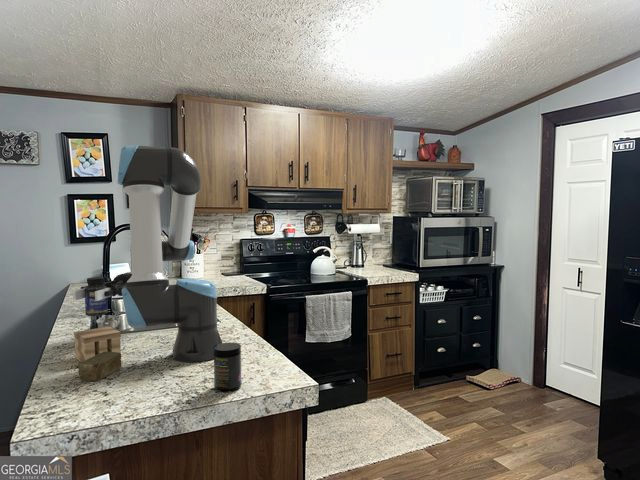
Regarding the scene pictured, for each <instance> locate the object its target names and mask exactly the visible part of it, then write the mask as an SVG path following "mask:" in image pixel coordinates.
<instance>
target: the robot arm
mask: <svg viewBox="0 0 640 480" xmlns="http://www.w3.org/2000/svg"><path fill="white" fill-rule="evenodd" d="M117 173H118V174H117V184H118V185H120V186H122V191H123V192H124V193H125V194H126V195H127V196H128V204H129V205H128V209H129V230H130V232H129V233H130V250H129V251H130V264H131V265H130V268H131V269H130V271H128V272H125V273H121V274H117V275H116V276H115V277H114V278H113V280H110V281H105V282H104V285H106V286H107V288H105V289H102V290H98V291H95V301H98V300H101V299H105V298H111V297H116V296H119V297H122V301H123V308H124V313H125V317H126V322H127V325H128V326H129V327H130V328H147V327H157V326H167V325H174V324H177V334H176V338H175V341H174V344H173V347H172V358H173V359H174V360H175V361H178V362H184V363H197V362H199V363H200V362H206V361H210V360H214V355H213V347H214V346H215V345H217V344H221V343H223V341H222V338H221V336H220V332H219V329H218V310H217V309H218V305H217V304H218V303H217V301H218V300H217V299H218V295H217V287H216V284H215V283H214V282H213V281H210V280H205V279H196V278H178V279H176V282H175V283H176V284H170V280H169V278H168V277H167V276H166V275H165V273H164V265H163V263H164V262H178V261H179V262H184V261H190V260H193V259H194V258H195V253H196V252H195V251H196V250H195V242H194V241H193V240H191V235H192V229H193V228H192V227H193V221H194V212H195V207H196V200H197V195H198V194H199V192H200V191H201V187H202V186H201V185H202V176H201V171H200V168H199V167H198V165H197V163H196V161H195V160H194V159H193V158H192V157H191V156H190V155H189V154H188V153H187V152H185V151H184V150H182V149H180V148H177V147H165V146H164V147H163V146H152V145H150V146H149V145H139V144H136V145H124V146H122V148H121V149H120V153H119V163H118V171H117ZM165 186H169V187H170V189H171V191H172V195H171V196H172V198H171V205H170V206H171V207H170V208H171V209H170V219H169V228H168V229H169V230H168V231H169V232H168V240H165V241H164V240H163V241H162V223H161V206H160V205H161V203H160V199H161V198H160V196H161V195H162V194H163V193H164V191H165ZM87 286H88V285H85V286H81V287H80V289H76V290H73V291H72V301H78V300H83V299H85V287H87Z"/></svg>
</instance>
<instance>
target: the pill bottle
mask: <svg viewBox="0 0 640 480" xmlns="http://www.w3.org/2000/svg"><path fill="white" fill-rule="evenodd" d="M86 283H87V285H86V286H87V287H85V298H84V308H85V309H84V310H85V313H84V314H85V316H88V317H98V316H102V315H107V314H108V312H109V308H108V307H109V302H108V300H109V299H108V298H109V297H108V298H105V299H101V300H98V301H95V291H98V290H102V289H105V288H107V286H106V285H104V283H105V277H103V276H97V277H96V276H95V277H94V276H93V277H88V278H86Z"/></svg>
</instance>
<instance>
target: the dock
mask: <svg viewBox="0 0 640 480" xmlns="http://www.w3.org/2000/svg"><path fill="white" fill-rule="evenodd" d="M121 335H122V334H121V331H120V330H118V329H116V328H111V327H109V326H107V327H101V328H98V327H96V328H91V329H84V330H79V331H74V332H73V338H74V353H75V359H76V360H77V361H79V363H81V362H83V361H85V360H87V359H89V358H91V357H93V356H95V355H97V354H100V353H102V352H104V351H105V352H118V353H121V354H122V348H121Z"/></svg>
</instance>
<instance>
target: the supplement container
mask: <svg viewBox="0 0 640 480" xmlns="http://www.w3.org/2000/svg"><path fill="white" fill-rule="evenodd" d="M213 355H214V359H213V376H214V377H213V382H214V385H213V386H214V389H215V390H216V391H217V390H218V392H220V391H222V393H230V392H229V391H231V392H235V391H237V390H239V389H240V388H241V387H242V382H243V381H242V345H241V344H240V343H238V342H222V343H221V344H217V345H215V346H214V347H213ZM234 390H235V391H234Z"/></svg>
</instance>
